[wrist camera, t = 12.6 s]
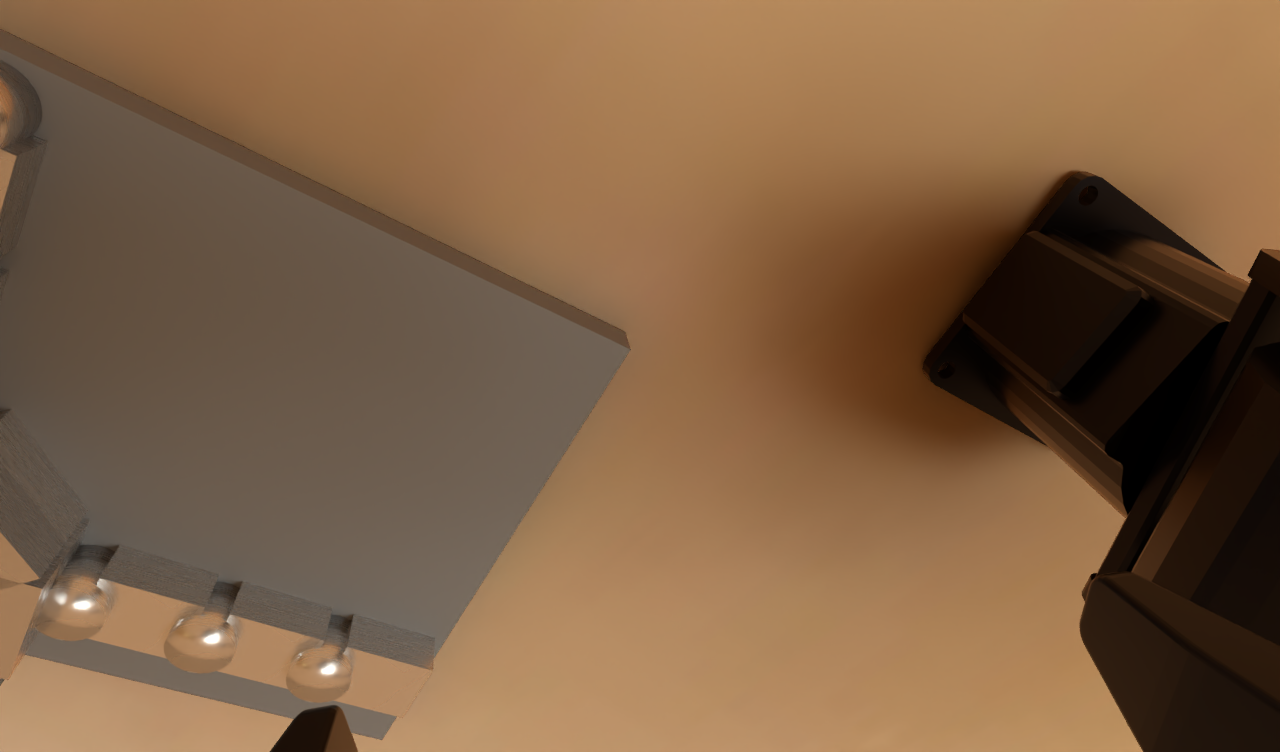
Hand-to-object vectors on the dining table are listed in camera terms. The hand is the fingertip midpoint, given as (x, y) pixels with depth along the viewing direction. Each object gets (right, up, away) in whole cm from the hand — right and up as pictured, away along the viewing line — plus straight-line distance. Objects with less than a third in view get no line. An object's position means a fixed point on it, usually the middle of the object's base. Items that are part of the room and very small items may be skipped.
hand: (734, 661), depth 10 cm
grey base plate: (-12, +2, +11) cm, 17 cm away
